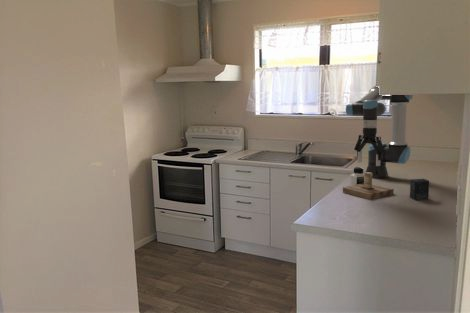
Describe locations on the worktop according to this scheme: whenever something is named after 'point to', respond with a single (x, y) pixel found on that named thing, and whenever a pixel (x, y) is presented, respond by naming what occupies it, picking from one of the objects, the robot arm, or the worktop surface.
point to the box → (419, 189)
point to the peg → (368, 180)
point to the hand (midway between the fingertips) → (368, 164)
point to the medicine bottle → (357, 176)
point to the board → (368, 191)
